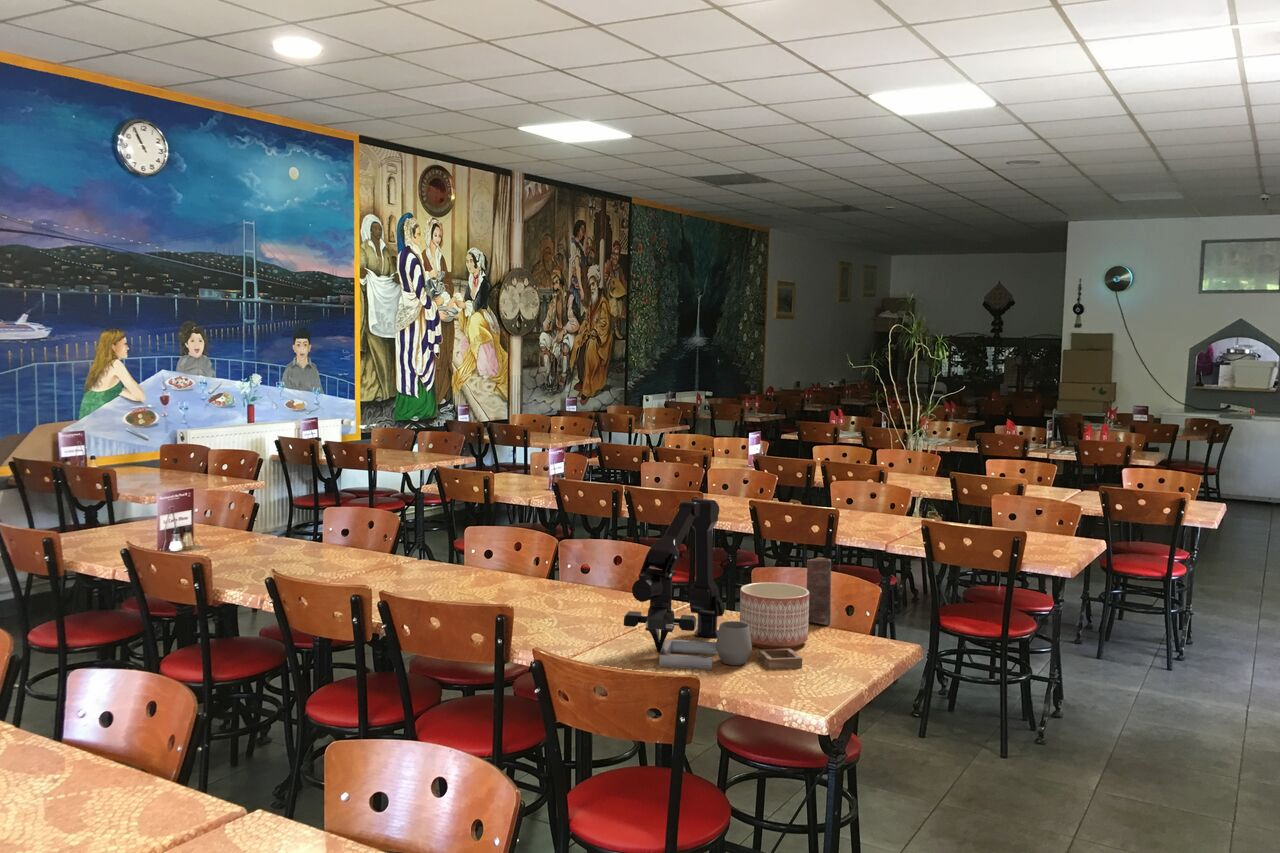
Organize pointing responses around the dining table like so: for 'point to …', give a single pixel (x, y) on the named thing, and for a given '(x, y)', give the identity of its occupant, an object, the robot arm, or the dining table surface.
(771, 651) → the square wooden tray
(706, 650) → the grey square frame
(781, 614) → the planter
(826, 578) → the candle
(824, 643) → the dining table surface
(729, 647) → the cup
